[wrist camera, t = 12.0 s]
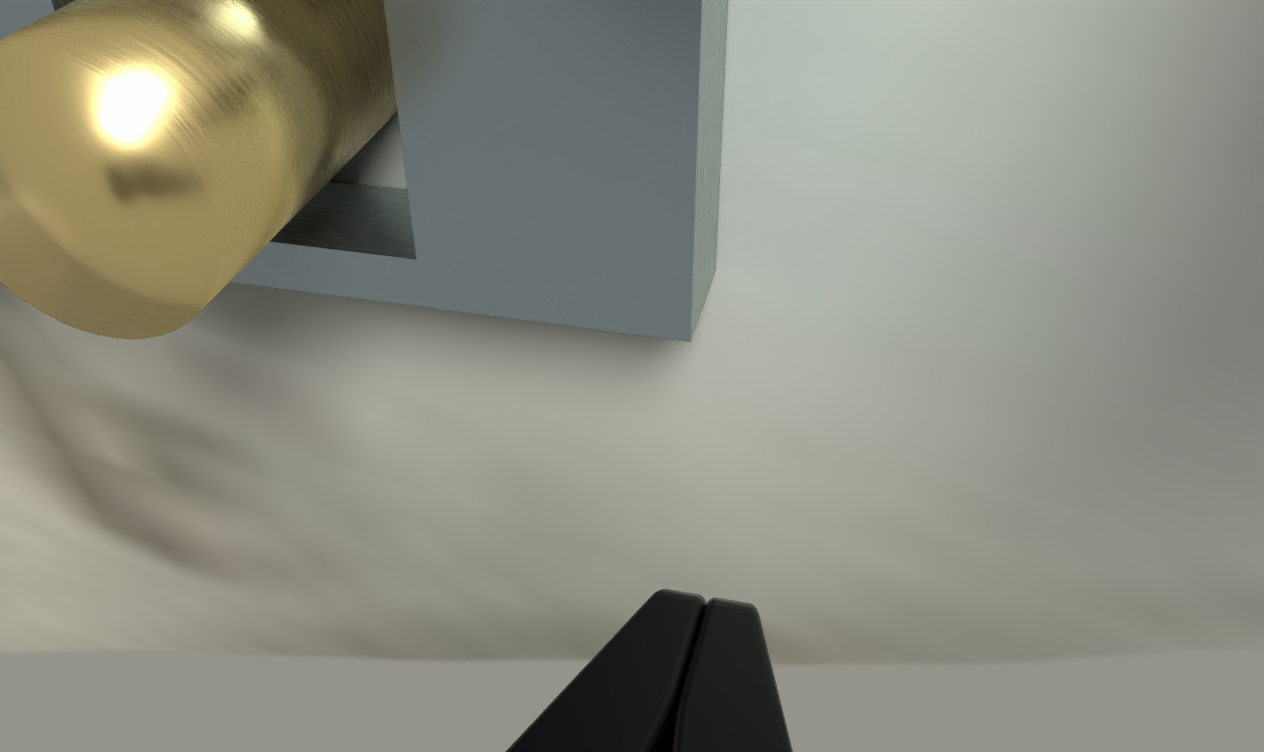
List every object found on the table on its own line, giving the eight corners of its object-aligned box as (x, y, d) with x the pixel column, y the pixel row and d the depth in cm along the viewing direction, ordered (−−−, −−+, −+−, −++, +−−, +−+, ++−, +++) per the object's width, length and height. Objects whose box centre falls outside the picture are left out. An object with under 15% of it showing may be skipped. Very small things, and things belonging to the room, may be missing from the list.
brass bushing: (425, 153, 22) (247, 356, 17) (218, 131, 23) (-17, 318, 18) (398, -85, 20) (177, 63, 14) (166, -100, 21) (-127, 35, 15)
